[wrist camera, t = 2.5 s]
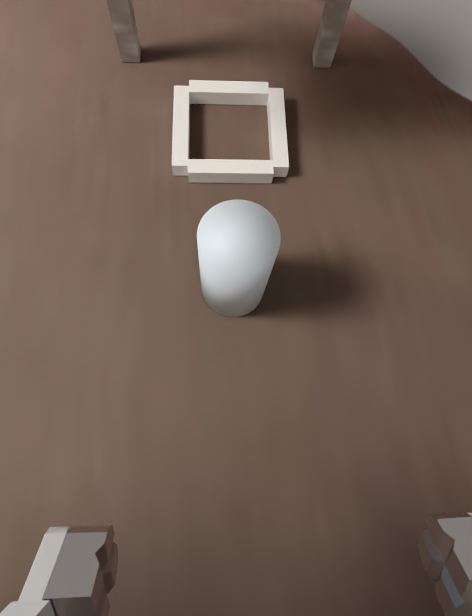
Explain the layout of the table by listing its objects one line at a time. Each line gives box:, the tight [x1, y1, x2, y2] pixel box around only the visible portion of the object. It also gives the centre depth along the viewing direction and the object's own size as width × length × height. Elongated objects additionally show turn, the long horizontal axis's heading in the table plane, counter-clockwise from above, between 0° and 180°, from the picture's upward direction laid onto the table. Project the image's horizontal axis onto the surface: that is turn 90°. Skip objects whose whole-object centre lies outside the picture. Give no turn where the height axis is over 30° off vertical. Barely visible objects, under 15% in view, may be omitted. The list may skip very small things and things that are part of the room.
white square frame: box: [172, 80, 289, 183], centre depth 31 cm, size 9×9×1 cm
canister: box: [197, 200, 281, 317], centre depth 24 cm, size 4×4×8 cm
